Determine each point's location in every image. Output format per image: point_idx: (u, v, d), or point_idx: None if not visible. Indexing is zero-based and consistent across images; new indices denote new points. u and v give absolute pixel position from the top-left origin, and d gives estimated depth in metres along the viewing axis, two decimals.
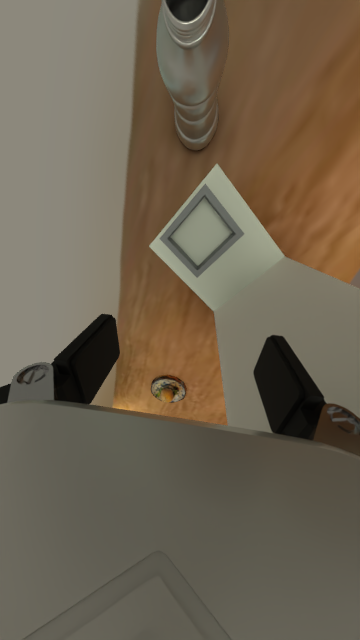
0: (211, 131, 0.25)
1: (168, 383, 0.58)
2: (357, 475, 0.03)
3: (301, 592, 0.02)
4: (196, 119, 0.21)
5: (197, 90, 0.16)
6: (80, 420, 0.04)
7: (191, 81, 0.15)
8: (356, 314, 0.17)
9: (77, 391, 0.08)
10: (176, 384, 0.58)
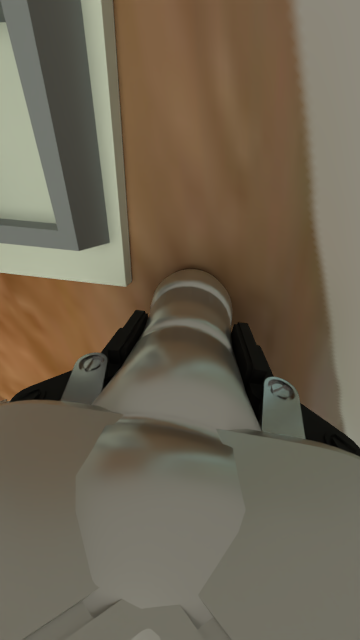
0: None
1: None
2: (357, 475, 0.03)
3: (301, 592, 0.02)
4: (135, 345, 0.08)
5: None
6: (80, 420, 0.04)
7: None
8: None
9: None
10: None
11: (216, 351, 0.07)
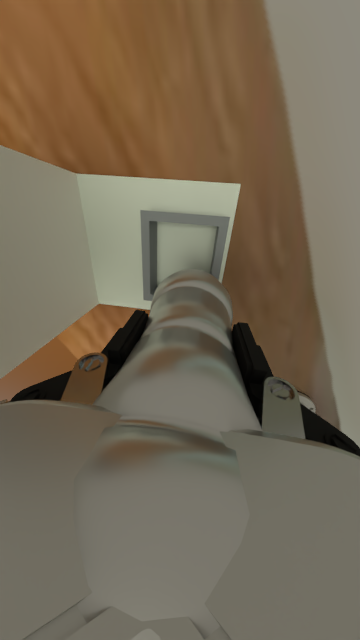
0: None
1: None
2: (357, 475, 0.03)
3: (301, 592, 0.02)
4: (135, 346, 0.08)
5: None
6: (80, 420, 0.04)
7: None
8: None
9: None
10: None
11: (217, 352, 0.07)
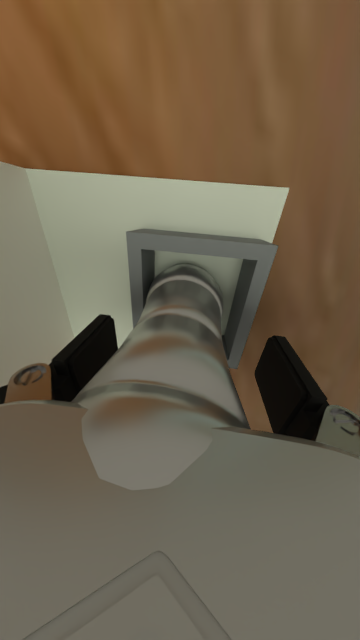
0: None
1: None
2: (357, 475, 0.03)
3: (301, 592, 0.02)
4: (131, 331, 0.09)
5: None
6: (80, 420, 0.04)
7: None
8: None
9: (74, 392, 0.08)
10: None
11: (203, 335, 0.08)
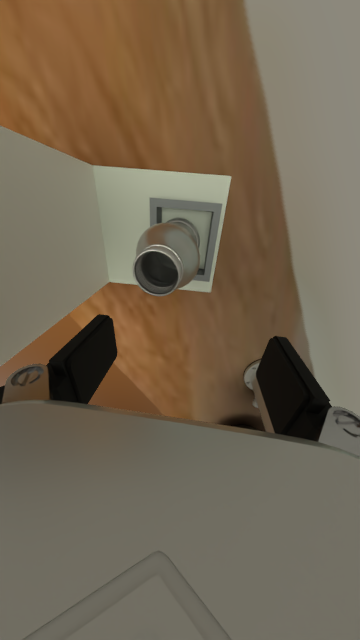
0: None
1: None
2: (357, 475, 0.03)
3: (301, 592, 0.02)
4: None
5: (140, 240, 0.16)
6: (80, 420, 0.04)
7: (145, 240, 0.16)
8: (0, 339, 0.16)
9: (72, 393, 0.08)
10: None
11: None
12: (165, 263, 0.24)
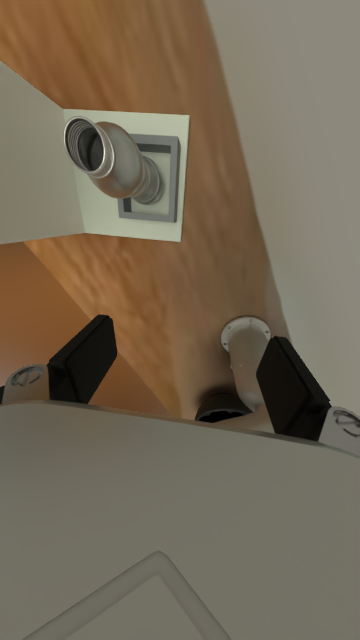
0: None
1: None
2: (357, 475, 0.03)
3: (301, 592, 0.02)
4: None
5: None
6: (80, 420, 0.04)
7: None
8: None
9: (72, 393, 0.08)
10: None
11: None
12: None
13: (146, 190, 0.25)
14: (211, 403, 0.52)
